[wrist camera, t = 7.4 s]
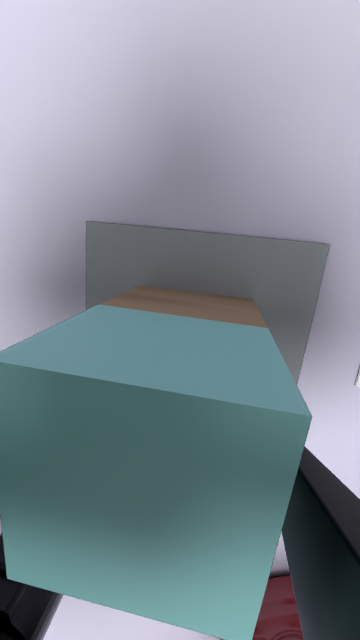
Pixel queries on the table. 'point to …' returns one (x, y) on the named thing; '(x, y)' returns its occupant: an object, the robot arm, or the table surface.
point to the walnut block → (190, 305)
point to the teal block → (149, 464)
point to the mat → (213, 273)
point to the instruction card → (358, 380)
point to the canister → (278, 612)
